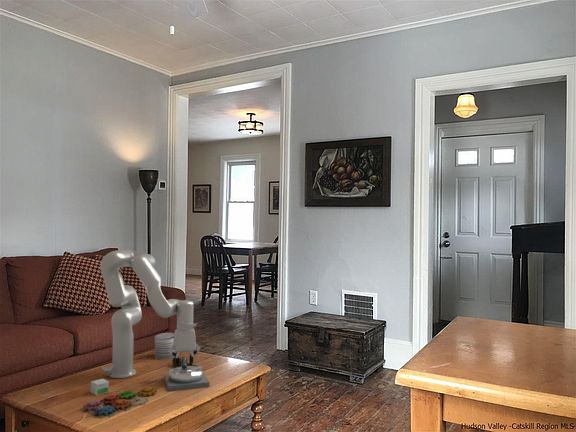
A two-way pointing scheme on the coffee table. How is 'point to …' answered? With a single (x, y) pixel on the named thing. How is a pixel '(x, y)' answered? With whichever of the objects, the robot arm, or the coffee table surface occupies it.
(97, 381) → the small box
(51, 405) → the coffee table surface
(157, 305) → the robot arm
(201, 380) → the gray plinth
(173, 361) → the hand tool
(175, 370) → the silver disc
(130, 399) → the gear puzzle
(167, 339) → the can
